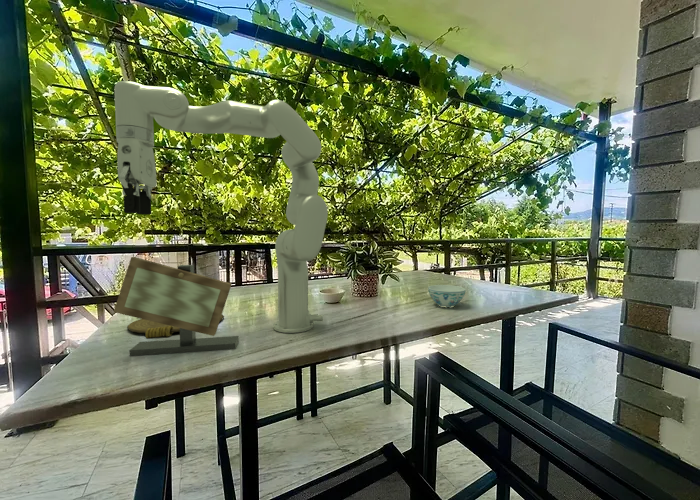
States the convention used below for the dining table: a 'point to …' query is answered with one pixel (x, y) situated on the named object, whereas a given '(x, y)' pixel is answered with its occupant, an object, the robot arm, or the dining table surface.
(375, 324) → the dining table surface
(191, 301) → the picture frame
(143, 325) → the decorative disc
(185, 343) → the frame post
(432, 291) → the chinaware
